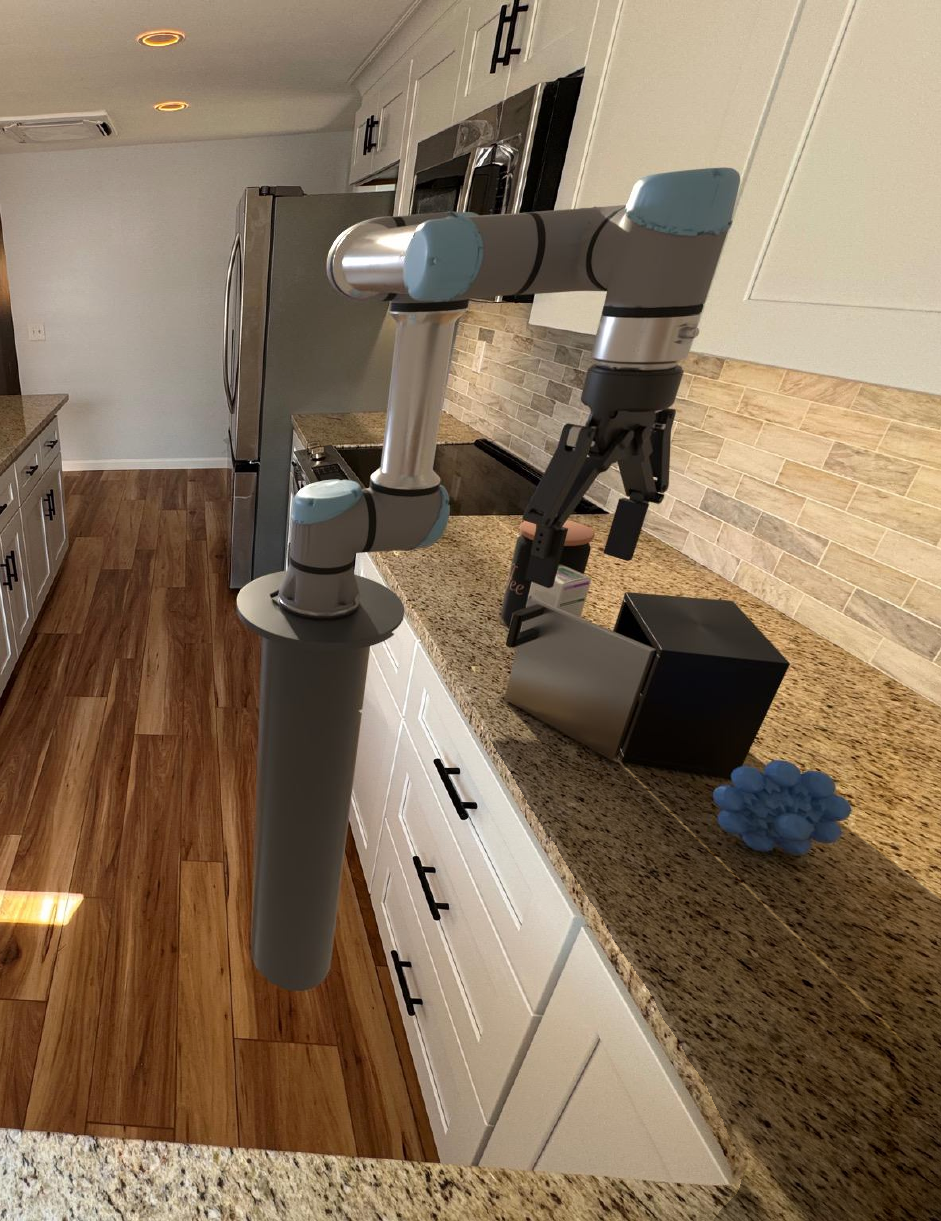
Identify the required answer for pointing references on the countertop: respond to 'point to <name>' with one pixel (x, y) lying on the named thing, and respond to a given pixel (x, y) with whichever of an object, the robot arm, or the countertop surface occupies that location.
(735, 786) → the blue flower
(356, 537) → the robot arm
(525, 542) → the coffee jar
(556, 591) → the syrup box
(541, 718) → the door
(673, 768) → the black box
